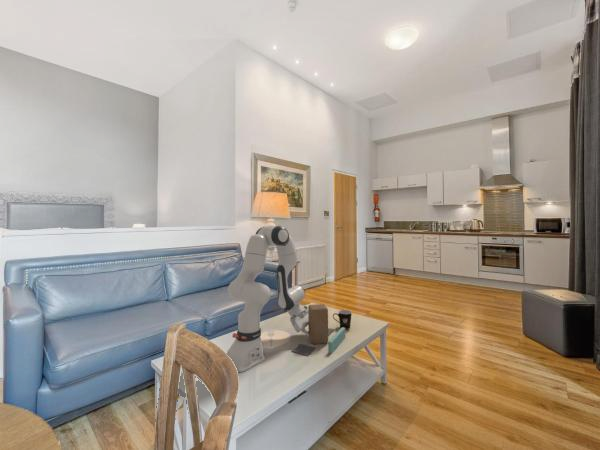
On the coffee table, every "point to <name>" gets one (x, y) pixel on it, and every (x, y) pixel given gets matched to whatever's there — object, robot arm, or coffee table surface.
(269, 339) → the coffee table surface
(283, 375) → the coffee table surface
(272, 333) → the coffee table surface
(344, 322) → the coffee mug
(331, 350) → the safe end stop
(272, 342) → the coffee table surface
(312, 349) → the mats
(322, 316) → the block
